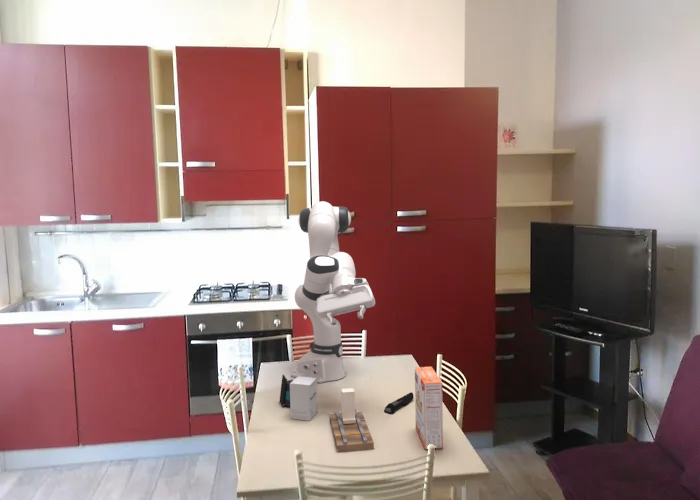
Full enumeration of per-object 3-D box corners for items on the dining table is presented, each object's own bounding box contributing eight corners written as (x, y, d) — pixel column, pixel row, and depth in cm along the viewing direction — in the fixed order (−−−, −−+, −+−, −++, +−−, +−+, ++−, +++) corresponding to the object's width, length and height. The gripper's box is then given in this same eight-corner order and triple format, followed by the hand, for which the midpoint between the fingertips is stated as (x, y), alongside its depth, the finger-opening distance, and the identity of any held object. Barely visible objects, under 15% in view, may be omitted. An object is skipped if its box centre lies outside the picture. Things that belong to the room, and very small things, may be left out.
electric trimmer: (416, 401, 194) (416, 393, 193) (392, 415, 182) (392, 406, 182) (407, 398, 196) (407, 390, 196) (383, 412, 184) (383, 404, 184)
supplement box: (310, 421, 178) (309, 385, 177) (290, 418, 180) (288, 383, 179) (318, 412, 185) (317, 377, 184) (298, 409, 187) (297, 375, 186)
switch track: (329, 419, 179) (329, 411, 179) (361, 417, 180) (361, 408, 180) (337, 452, 157) (337, 442, 157) (373, 448, 159) (373, 439, 158)
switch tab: (341, 417, 175) (340, 387, 174) (353, 416, 176) (352, 386, 174) (343, 424, 170) (342, 393, 169) (355, 423, 171) (355, 392, 170)
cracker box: (414, 428, 171) (414, 366, 169) (432, 427, 172) (432, 365, 169) (423, 450, 157) (423, 382, 155) (443, 449, 158) (443, 381, 155)
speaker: (277, 407, 189) (279, 379, 188) (279, 401, 195) (281, 374, 194) (298, 409, 189) (300, 381, 188) (300, 403, 195) (302, 376, 194)
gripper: (313, 291, 186) (314, 322, 176) (369, 277, 183) (373, 308, 173) (319, 302, 190) (320, 333, 180) (374, 288, 187) (378, 319, 177)
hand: (346, 320), depth 177 cm, fingers open, 8 cm apart
